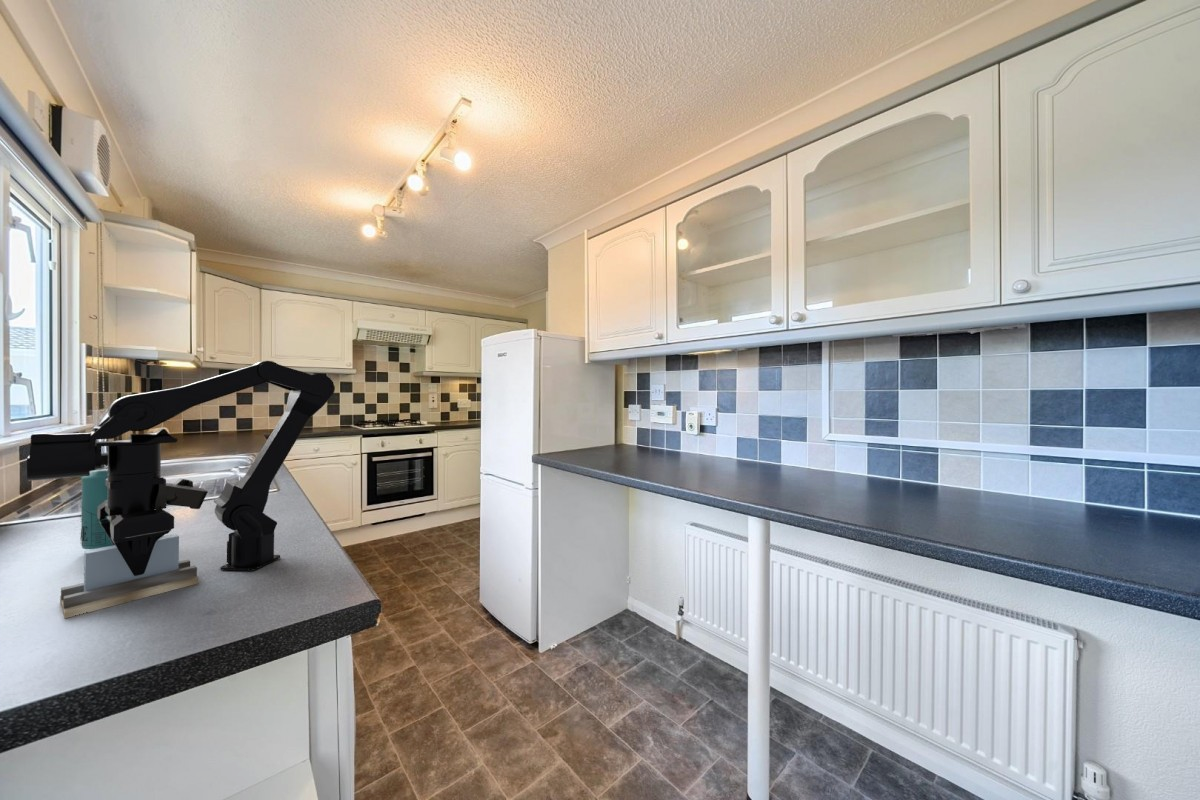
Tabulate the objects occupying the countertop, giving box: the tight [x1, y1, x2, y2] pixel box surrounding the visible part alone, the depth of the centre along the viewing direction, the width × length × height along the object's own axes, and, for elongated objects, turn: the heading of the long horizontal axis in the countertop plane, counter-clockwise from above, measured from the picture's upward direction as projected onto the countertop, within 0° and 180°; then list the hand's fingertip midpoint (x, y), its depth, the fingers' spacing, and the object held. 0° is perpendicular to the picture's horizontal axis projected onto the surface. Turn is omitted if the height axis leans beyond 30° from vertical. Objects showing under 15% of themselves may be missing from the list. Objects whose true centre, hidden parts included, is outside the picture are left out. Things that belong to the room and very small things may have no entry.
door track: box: [59, 558, 200, 619], centre depth 67 cm, size 14×8×2 cm, turn 146°
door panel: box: [83, 533, 180, 591], centre depth 67 cm, size 10×2×7 cm, turn 145°
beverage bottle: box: [79, 452, 113, 550], centre depth 83 cm, size 6×7×20 cm
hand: (133, 567), depth 67 cm, fingers open, 9 cm apart
